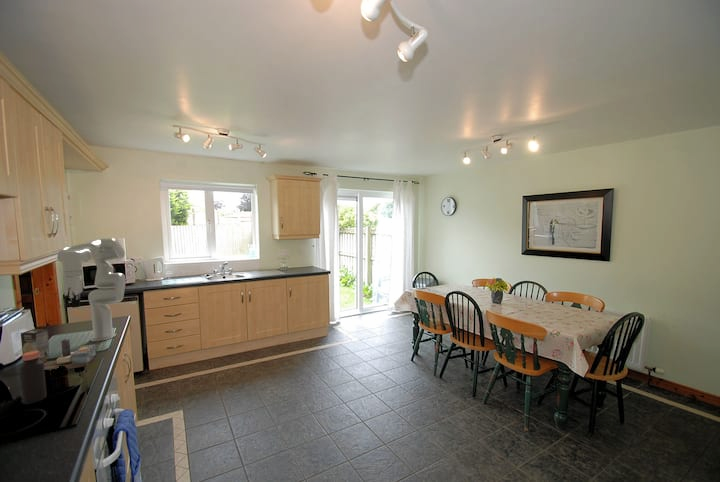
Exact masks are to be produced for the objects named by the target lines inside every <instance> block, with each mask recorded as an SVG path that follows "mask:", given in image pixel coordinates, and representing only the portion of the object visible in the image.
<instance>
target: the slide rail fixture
mask: <svg viewBox="0 0 720 482" xmlns="http://www.w3.org/2000/svg"><path fill="white" fill-rule="evenodd" d="M84 347H89V349H88V350H83V351H78V350H79V349H80V348H84ZM73 352H74V353H73V354H72V355H71V358H72V360H71V361H70V362H66V363H60V364H57V359H55V360H49V361H47V359H46V355H42V356H40V358H39V360H41V361H43V362H44V370H52V369H57V368H59V366H62V365H63V366H65V367H66V368H67V369H66V370H70V369H75V368H82V367H86V366H88V365H89V364H90V363H91V362H92V361H93V359H94V358H96V355H97V348H96V343H95V344H94V343H93V344H88V345H81V346H80V347H79V348H77V349H76V350H75V351H73Z"/></svg>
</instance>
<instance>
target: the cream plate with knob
mask: <svg viewBox="0 0 720 482" xmlns="http://www.w3.org/2000/svg"><path fill="white" fill-rule="evenodd" d="M60 342H61V351H62V353H61V355H60V356H59V357H57V358H56V360H57V364H60V363H66V362H70V361H71V360H72V358H71V355H72V354H73V353H74V352H75V351H71V343H70V342H71V341H70V338H67V339H61V341H60Z"/></svg>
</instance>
